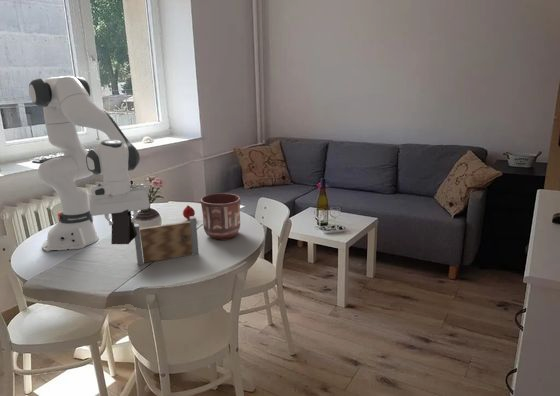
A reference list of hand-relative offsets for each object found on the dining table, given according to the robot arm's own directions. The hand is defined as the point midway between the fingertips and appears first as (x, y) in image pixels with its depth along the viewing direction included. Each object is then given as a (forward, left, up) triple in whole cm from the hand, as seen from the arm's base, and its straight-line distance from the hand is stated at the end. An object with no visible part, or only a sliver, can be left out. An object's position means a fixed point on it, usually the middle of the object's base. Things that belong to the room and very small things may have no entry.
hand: (122, 223), depth 153 cm
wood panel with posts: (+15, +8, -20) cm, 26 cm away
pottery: (+42, +23, -20) cm, 52 cm away
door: (+16, +7, -20) cm, 26 cm away
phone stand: (0, 0, -7) cm, 7 cm away
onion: (+32, +51, -20) cm, 64 cm away
